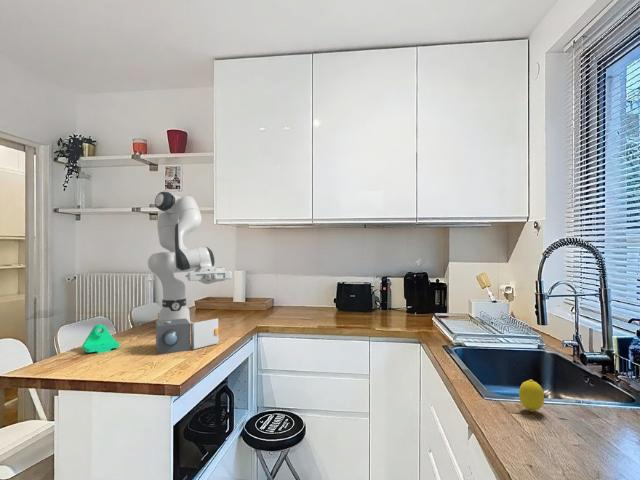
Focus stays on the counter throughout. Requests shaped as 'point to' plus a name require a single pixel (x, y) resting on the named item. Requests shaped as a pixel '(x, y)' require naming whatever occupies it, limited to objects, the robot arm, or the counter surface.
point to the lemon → (531, 395)
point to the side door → (204, 333)
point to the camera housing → (172, 336)
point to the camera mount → (99, 340)
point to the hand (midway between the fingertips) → (212, 276)
